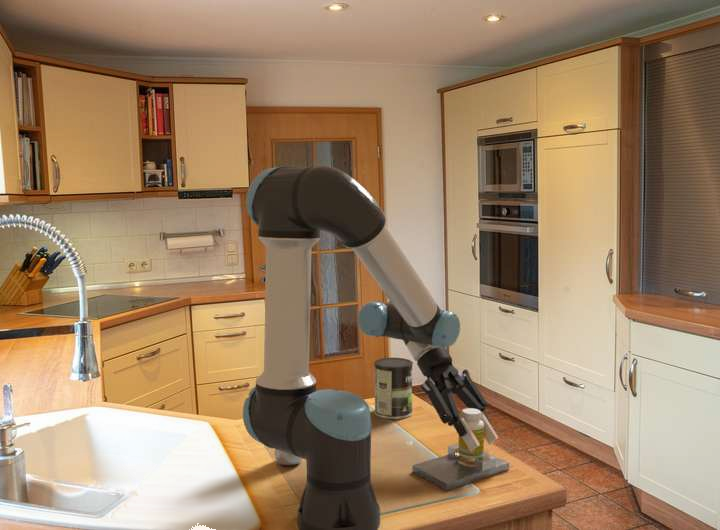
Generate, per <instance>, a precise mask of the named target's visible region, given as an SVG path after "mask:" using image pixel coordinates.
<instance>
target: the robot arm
mask: <svg viewBox="0 0 720 530" xmlns="http://www.w3.org/2000/svg"><path fill="white" fill-rule="evenodd" d="M246 193H247V194H246V200H245V206H246V212H247V214H248V216H249V217H251V218H250V219H251V220H250V221H252V223H254V224H255V226H257V228H258V229H257V230H258V232H257V233H258V235H257V238H258V239H259V240H260V242H261V243H262V244H263V245H264V247H265V250H266V251H265V285H264V286H265V289H264V290H265V293H264V294H265V296H264V299H265V300H264V301H265V304H264V341H263V342H264V349H263V350H264V351H263V355H264V356H263V372H262V373H261V374H260V375H258V376H257V378H256V379H255V386H253V388H252V389H251V390H249V392H248V397H247V398H246V397H245V399H244V402H243V408H242V419H243V425H244V427H245V430H246V432H247V433H248V434H249V436H250V437H251V438H252V439H253V440H255V441H256V442H258V443H260V444H262V445H264V446H265V447H267V448H270V449H274V450H275V449H277V450H280V451H283V452H286V453H289V454H292V455H294V456H297V457H300V458H303V459H302V460H305V461H306V462H305V463H306V484H305V486H304V488H303V489H304V490H303V493H302V496H301V499H300V502H299V506H298V508H297V527H298V529H299V530H378V529H379V527H380V526H381V525H380V524H381V508H380V506H379V503H378V501H377V497H376V495H375V494H376V493H375V489H374V487H373V485H372V479H371V471H372V469H371V468H372V466H371V465H372V464H371V463H372V460H371V459H372V458H371V457H372V455H371V453H372V429H373V427H372V419H371V409H370V406H369V404H368V402H367V401H366V400H365V399H364V398H362V397H361V396H360V395H357V394H356V393H353V392H350V391H346V390H342V389H339V390H335V389H330V388H329V389H319V390H317V379H316V378H315V377H314V375H313V374H312V373H311V372H310V369H309V368H310V337H311V336H310V332H311V331H310V330H311V328H310V327H311V293H312V292H311V289H312V287H311V286H312V285H311V283H312V248H313V247H314V246H315V245H316V244H317V243H318V242H319V241H320V239H321V232H326V233H329V234H331V235H333V236H334V237H335V238H336V239H337V240H338V241H339V242H340V244H341V245H342V246H343V247H345V248H347V249H352V251H353V252H354V253H355V255H356V256H357V258H358V259H359V261H361V264H362V265H363V266H364V267H365V269H366V270H367V271H368V273H369V274H370V275H371V278H373V280H374V281H375V282H376V284H377V285H378V287H379V289H381V291H382V292H383V294H384V295H385V296H386V297H387V299H388V302H382V301H377V300H376V301H375V302H374V301H371V302H367V303H365V304H363V305H362V306H361V308H360V309H359V312H358V315H357V324H358V327H359V329H360V331H361V332H362V333H364V335H366V336H369V337H375V338H379V337H383V338H384V337H385V338H389V339H396V340H402V341H403V344H405V346H406V347H407V350H408V351H409V353H410V354H411V356H412V358H413V359H414V361H416V362H417V363H416V365H417V367H418V369H419V370H420V371H421V373H422V375H423V376H424V377H426V380H425V381H424V382H423V383H422V384H421V385H420V389H422V391H424V392H425V394H426V396H427V397H428V399H429V400H430V402H431V404H432V406H433V408H434V410H435V412H436V413H437V415H438V417H439V418H440V420H441V422H442V423H443V424H447V426H449V427H454V429H455V431H456V433H457V434H458V437H459V436H460V437H462V438H463V440H464V441H465V443H466V445H467V447H468V448H469V450H470V451H473V450H474V449H475V448H476V447H478V446H479V445H480V444H479V442H478V441H477V439H476V437H475V436H474V434H473V432H472V431H471V429H470V427H469V426H468V424H467V422H466V421H465V419H464V418H463V417H460V414H459V410H458V407H457V404H456V402H455V399H454V396H453V394H454V395H456V396H457V397H458V399H460V400H461V402H462V403H463V404H464V405H465V406H466V407H467V408H474V409H478V410H480V411H481V418H480V420H482V421H483V423H484V439H485V440H486V442H487V443H488V445H491V444H493V443H494V442H495V441H496V440H498V439H499V436H498V435H497V433H496V431H495V430H494V428H493V426H492V423H491V421H490V419H489V417H488V416H487V414H486V412H485V410H486V409H487V408H488V407H489V404H488V402H487V401H486V400H485V398H484V396H483V395H482V393H481V392H480V390H479V388H478V387H477V386H476V383H474V381H473V380H472V377H471V375H470V372H469V370H467V369H466V368H465V369H463V370H461V371H460V370H458V369H457V368H456V367H455V366H454V365H453V357H452V355H450V352H449V351H448V349H447V348H448V347H449V348H450V347H452V346H453V345H454V344H455V343H456V342H457V340H458V337H460V332H461V321H460V318H459V316H458V315H457V313H454V312H452V311H448V310H447V309H445V310H443V309H441V308H440V307H439V305H438V304H437V302H436V300H435V299H434V297H433V296H432V295H431V293H430V290H429V289H428V288H427V287H426V285H425V283H424V282H423V280H422V279H421V278H420V276H419V275H418V273H417V271H416V270H415V268H414V267H413V265H412V263H411V262H410V261H409V259H408V258H407V256H406V255H405V253H404V251H403V250H402V248H401V247H400V245H399V244H398V242H397V241H396V239H395V237H394V236H393V235H392V233H391V231H390V230H389V228H388V227H387V217H386V213H385V212H384V211H383V210H382V208H381V206H380V205H379V204H378V202H377V201H376V199H375V197H373V196H372V195H371V194H370V192H369V191H368V190H367V189H366V188H364V186H362V184H360V183H359V182H358V181H357V180H356V179H355V178H354V177H352V176H351V175H349V174H348V173H346V172H344V171H342V170H341V169H339V168H336V167H333V166H329V165H313V166H310V165H309V166H308V165H307V166H306V165H304V166H302V165H296V166H292V165H289V166H288V165H282V166H281V165H280V166H278V167H271V168H267V169H264V170H263V171H261V172H259V173H258V174H257V175H256V177H255V178H253V180H252V181H251V183H250V184H249V187H248V190H247V192H246Z"/></svg>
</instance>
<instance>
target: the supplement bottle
mask: <svg viewBox="0 0 720 530" xmlns="http://www.w3.org/2000/svg"><path fill="white" fill-rule="evenodd" d="M461 418H464V419H465V421H466V422H467V424H468V426H469V427H470V429H471V431H472V432H473V434H474V436H475V437H476V439H477V441H478V442H479V444H480V445H479V446H478V447H476V448H475V449H474V450H473V451H470V450H469V448H468V447H467V445H466V443H465V441H464V440H463V438H462V437H460V436H459V435H458V443H459V448H458V450H459V454H460V455H461V456H462V457H465V458H480V457H482V456H483V452H485V450H484V449H485V445H484V444H485V441H484V440H485V437H484V423H483V421H482V420H480V418H481V411H480V410H478V409H477V408H476V409H474V408H468V407H467V408H463V409H462V412H461Z"/></svg>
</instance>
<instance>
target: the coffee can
mask: <svg viewBox="0 0 720 530" xmlns="http://www.w3.org/2000/svg"><path fill="white" fill-rule="evenodd" d="M373 365H374V415H375V416H376V417H379V418H382V419H385V420H386V419H387V420H402V419H407V418H409V417H411V416H412V415H413V361H412V360H410V359H407V358H402V357H384V358H383V357H382V358H378V359H376V360H375V361H374V362H373Z"/></svg>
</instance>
